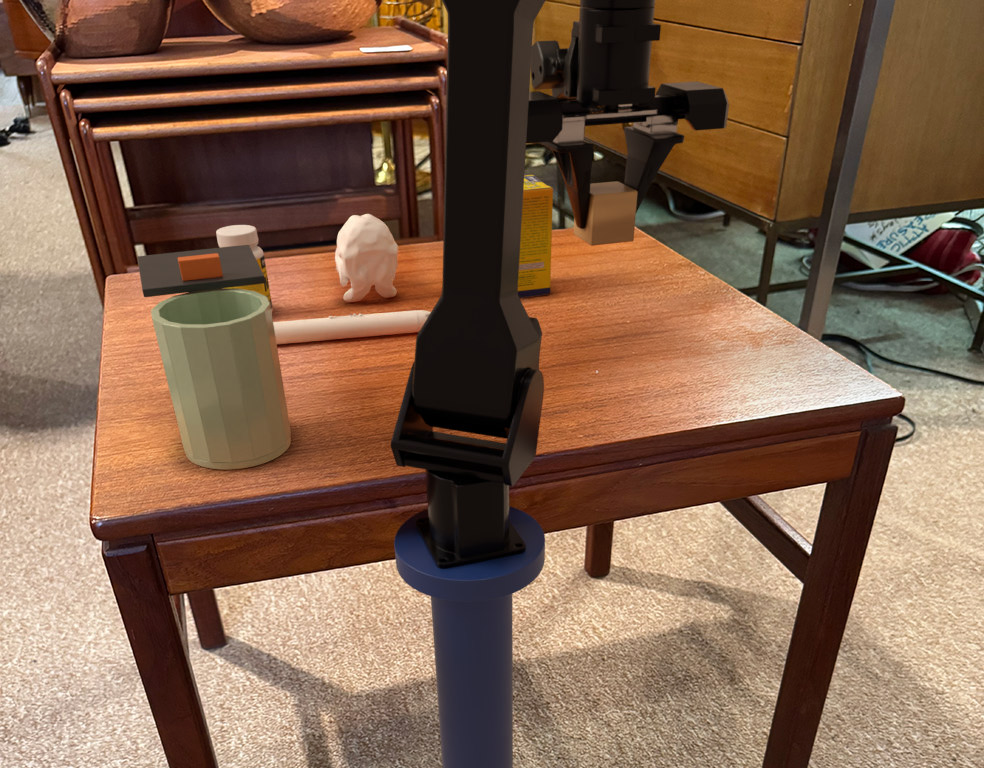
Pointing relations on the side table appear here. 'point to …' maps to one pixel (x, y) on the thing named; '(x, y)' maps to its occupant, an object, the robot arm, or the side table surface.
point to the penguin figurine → (366, 257)
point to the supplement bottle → (248, 236)
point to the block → (609, 214)
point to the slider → (199, 270)
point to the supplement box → (535, 239)
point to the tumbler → (224, 376)
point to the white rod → (349, 326)
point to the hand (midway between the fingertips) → (604, 225)
